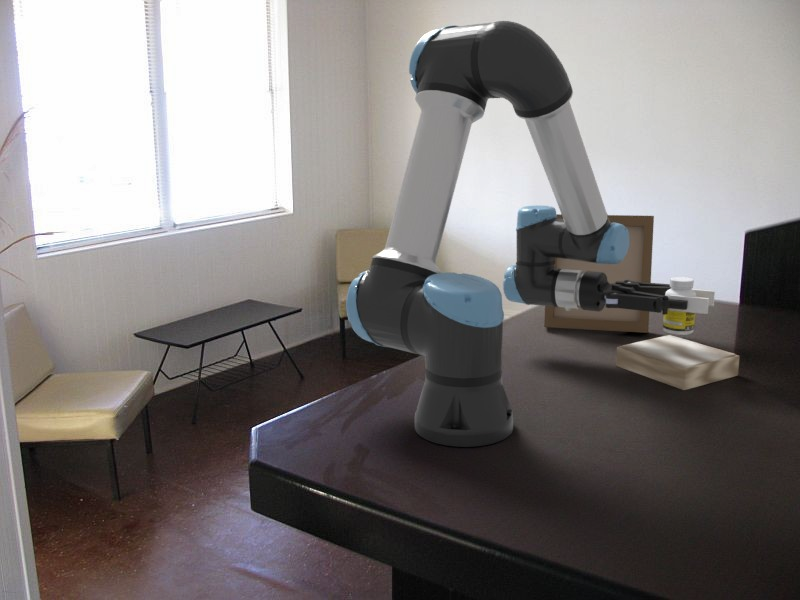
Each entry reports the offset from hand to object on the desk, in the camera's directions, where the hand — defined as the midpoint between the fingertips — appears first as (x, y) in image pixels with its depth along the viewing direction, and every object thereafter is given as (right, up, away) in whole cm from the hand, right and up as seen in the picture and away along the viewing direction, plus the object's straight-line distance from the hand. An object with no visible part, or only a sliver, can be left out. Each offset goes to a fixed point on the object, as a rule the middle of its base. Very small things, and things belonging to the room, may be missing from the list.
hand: (710, 302), depth 141 cm
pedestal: (-4, -13, +6) cm, 15 cm away
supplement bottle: (-4, -5, +4) cm, 8 cm away
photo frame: (-11, -5, +37) cm, 39 cm away
